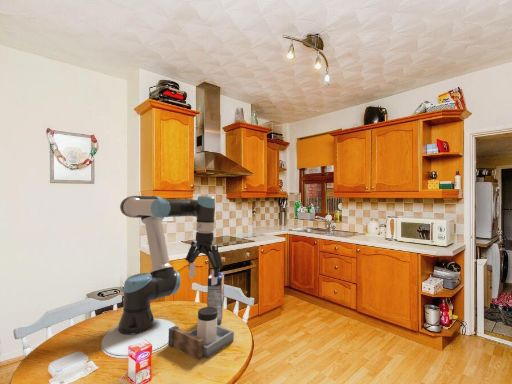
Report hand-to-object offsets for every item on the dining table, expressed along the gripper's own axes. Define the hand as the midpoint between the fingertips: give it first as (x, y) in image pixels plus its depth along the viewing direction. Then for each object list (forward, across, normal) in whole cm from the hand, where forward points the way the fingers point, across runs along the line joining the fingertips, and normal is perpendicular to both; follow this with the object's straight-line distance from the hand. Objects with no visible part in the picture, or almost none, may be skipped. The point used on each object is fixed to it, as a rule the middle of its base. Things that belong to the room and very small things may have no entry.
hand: (202, 280), depth 116 cm
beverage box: (+26, -8, +18) cm, 32 cm away
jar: (+24, +4, 0) cm, 24 cm away
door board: (+25, +3, -10) cm, 27 cm away
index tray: (+25, +5, 0) cm, 25 cm away
